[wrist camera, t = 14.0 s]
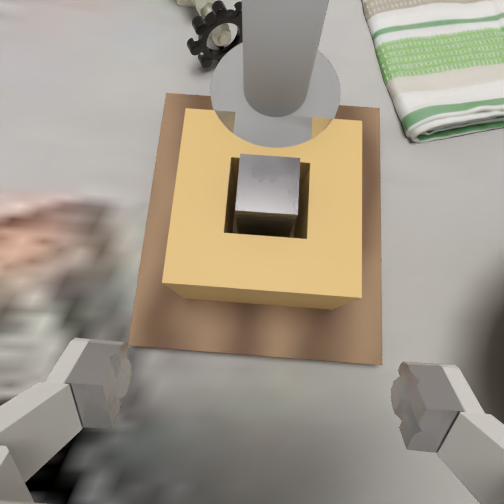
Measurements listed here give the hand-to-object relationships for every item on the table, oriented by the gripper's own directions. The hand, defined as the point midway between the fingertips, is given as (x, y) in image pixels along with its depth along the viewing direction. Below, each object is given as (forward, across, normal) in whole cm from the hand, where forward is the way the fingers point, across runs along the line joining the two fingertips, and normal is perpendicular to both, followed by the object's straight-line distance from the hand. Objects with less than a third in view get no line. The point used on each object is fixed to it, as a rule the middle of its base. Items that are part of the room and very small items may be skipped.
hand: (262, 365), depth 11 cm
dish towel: (+38, -18, -9) cm, 43 cm away
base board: (+22, 0, +6) cm, 23 cm away
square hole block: (+22, 0, +4) cm, 23 cm away
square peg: (+20, 0, +6) cm, 21 cm away
